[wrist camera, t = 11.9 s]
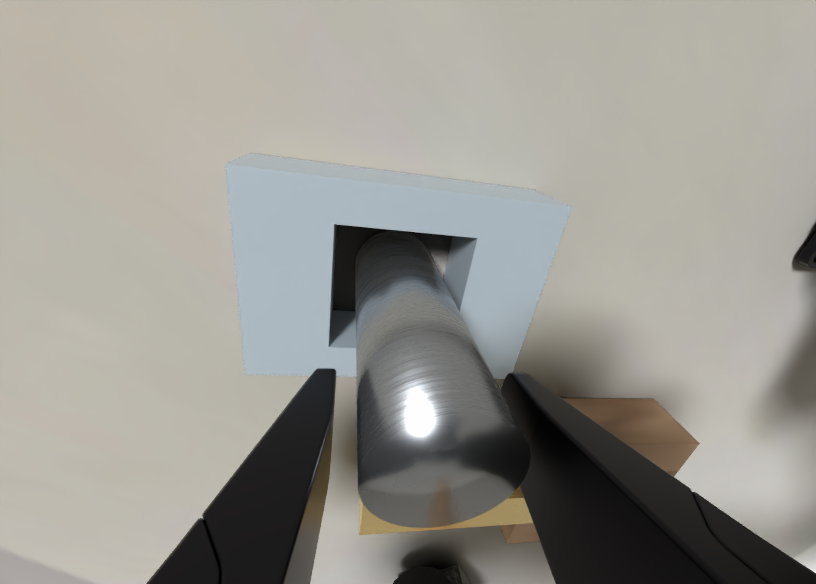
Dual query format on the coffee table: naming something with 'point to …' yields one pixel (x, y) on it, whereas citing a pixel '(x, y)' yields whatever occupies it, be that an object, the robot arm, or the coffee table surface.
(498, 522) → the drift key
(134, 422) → the coffee table surface
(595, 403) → the socket block
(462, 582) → the hammer
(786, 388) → the coffee table surface
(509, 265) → the light blue rectangular frame
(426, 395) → the peg
